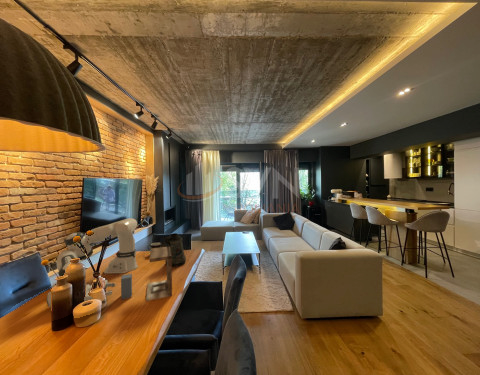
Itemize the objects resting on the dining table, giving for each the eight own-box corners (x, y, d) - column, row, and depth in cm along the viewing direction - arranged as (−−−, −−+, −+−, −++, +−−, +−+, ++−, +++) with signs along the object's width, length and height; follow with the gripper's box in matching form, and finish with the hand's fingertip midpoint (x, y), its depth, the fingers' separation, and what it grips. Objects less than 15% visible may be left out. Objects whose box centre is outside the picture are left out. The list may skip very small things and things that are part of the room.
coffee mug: (163, 253, 194) (162, 243, 194) (155, 256, 186) (155, 245, 186) (154, 251, 199) (154, 241, 199) (146, 254, 191) (146, 244, 191)
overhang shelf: (146, 300, 115) (145, 259, 114) (147, 284, 133) (147, 248, 133) (172, 295, 120) (171, 255, 120) (170, 280, 139) (169, 246, 138)
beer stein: (189, 260, 176) (189, 232, 176) (177, 269, 157) (176, 237, 157) (172, 258, 180) (172, 231, 180) (158, 267, 161) (158, 236, 161)
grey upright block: (121, 299, 117) (121, 278, 116) (122, 295, 121) (122, 275, 121) (131, 297, 119) (130, 277, 118) (132, 293, 123) (131, 273, 123)
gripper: (90, 289, 121) (116, 285, 126) (78, 309, 102) (109, 303, 108) (90, 279, 121) (116, 275, 126) (77, 297, 102) (109, 291, 107)
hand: (113, 288), depth 117 cm, fingers open, 8 cm apart
